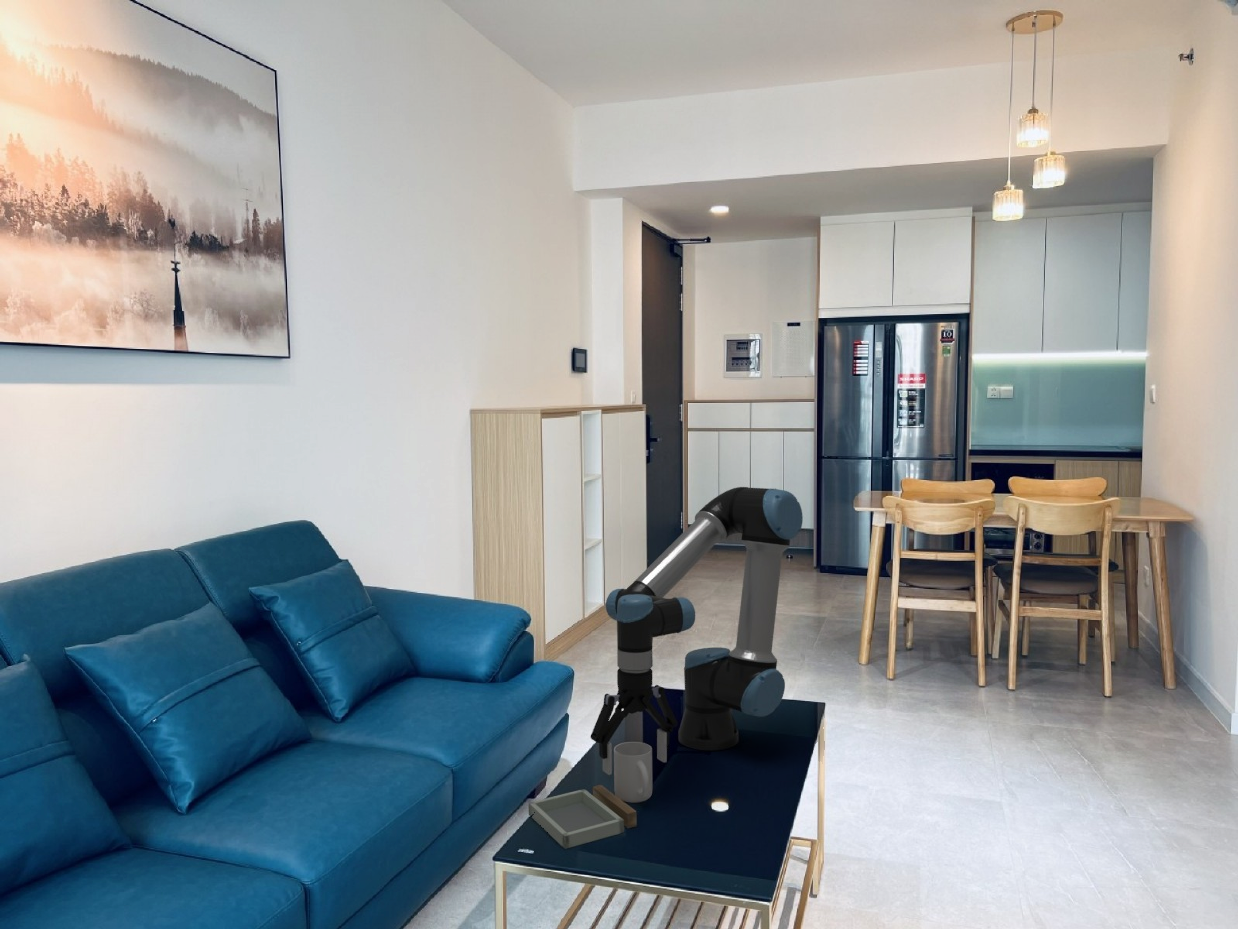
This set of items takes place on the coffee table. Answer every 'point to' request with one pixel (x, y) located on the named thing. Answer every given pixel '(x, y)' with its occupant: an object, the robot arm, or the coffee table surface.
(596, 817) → the frame
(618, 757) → the mug
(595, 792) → the edge rail
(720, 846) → the coffee table surface
